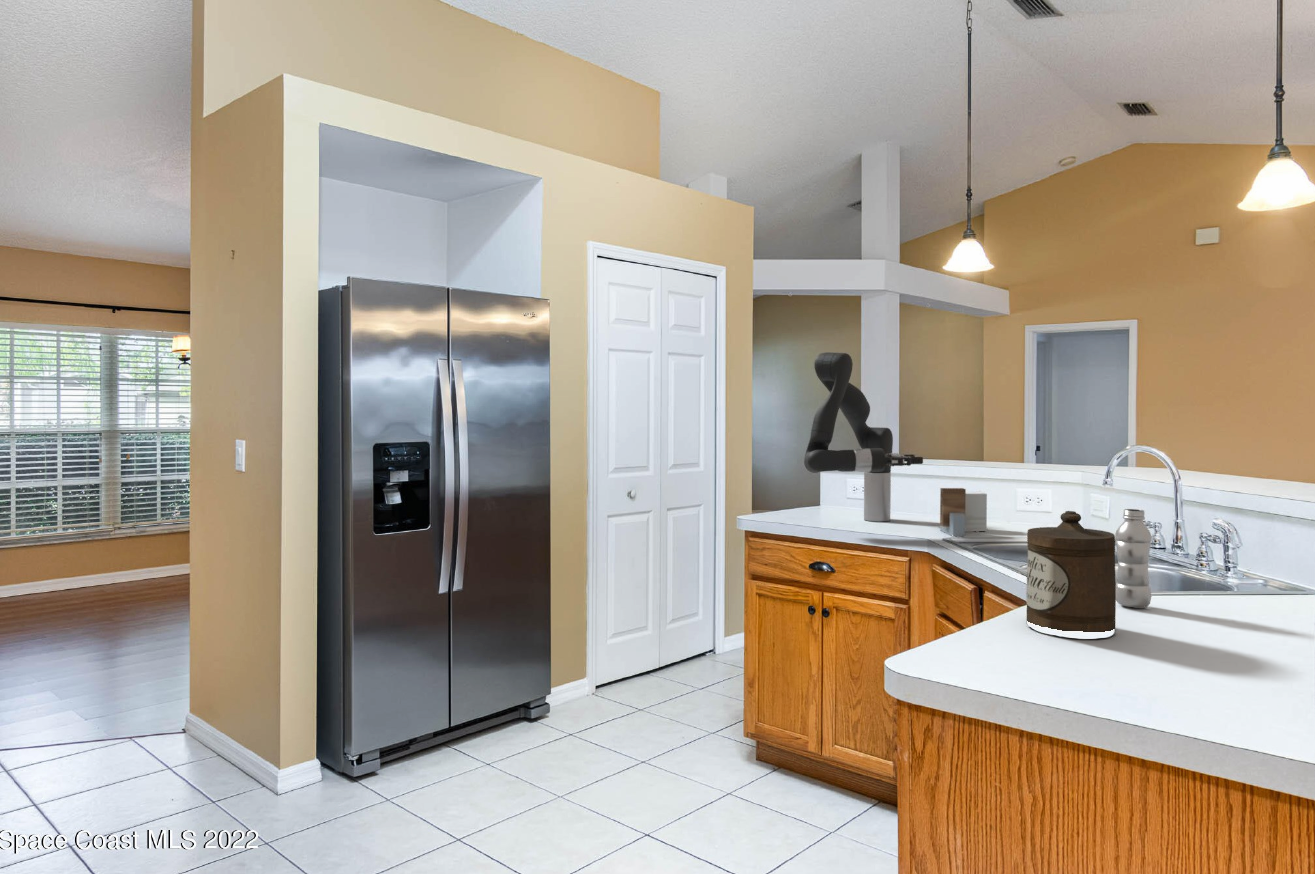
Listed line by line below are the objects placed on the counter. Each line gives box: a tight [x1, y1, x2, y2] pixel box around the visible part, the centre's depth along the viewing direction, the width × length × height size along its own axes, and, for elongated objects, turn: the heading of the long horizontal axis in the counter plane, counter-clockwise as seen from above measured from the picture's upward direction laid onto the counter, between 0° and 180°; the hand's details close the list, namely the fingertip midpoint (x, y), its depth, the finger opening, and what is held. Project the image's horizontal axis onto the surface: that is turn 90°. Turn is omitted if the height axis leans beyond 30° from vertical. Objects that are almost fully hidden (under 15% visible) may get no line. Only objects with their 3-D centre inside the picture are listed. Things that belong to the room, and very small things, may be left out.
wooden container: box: [1025, 510, 1117, 632], centre depth 153 cm, size 15×15×22 cm
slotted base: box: [939, 513, 966, 537], centre depth 266 cm, size 12×4×7 cm, turn 0°
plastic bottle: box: [1114, 508, 1153, 609], centre depth 169 cm, size 6×7×20 cm
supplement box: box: [965, 490, 988, 533], centre depth 272 cm, size 7×7×13 cm
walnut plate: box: [939, 487, 967, 527], centre depth 265 cm, size 3×7×12 cm, turn 89°
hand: (918, 459), depth 265 cm, fingers open, 8 cm apart
